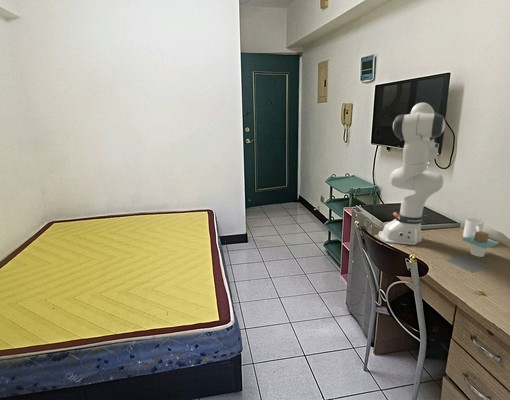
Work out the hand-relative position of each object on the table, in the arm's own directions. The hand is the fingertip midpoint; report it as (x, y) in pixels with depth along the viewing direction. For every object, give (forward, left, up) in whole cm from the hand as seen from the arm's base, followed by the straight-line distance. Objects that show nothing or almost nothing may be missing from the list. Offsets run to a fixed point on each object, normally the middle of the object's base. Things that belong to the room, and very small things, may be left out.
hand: (421, 167), depth 199 cm
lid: (+12, -49, -27) cm, 57 cm away
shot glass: (+12, -49, -35) cm, 61 cm away
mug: (+20, -30, -35) cm, 50 cm away
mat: (+2, -59, -34) cm, 68 cm away
